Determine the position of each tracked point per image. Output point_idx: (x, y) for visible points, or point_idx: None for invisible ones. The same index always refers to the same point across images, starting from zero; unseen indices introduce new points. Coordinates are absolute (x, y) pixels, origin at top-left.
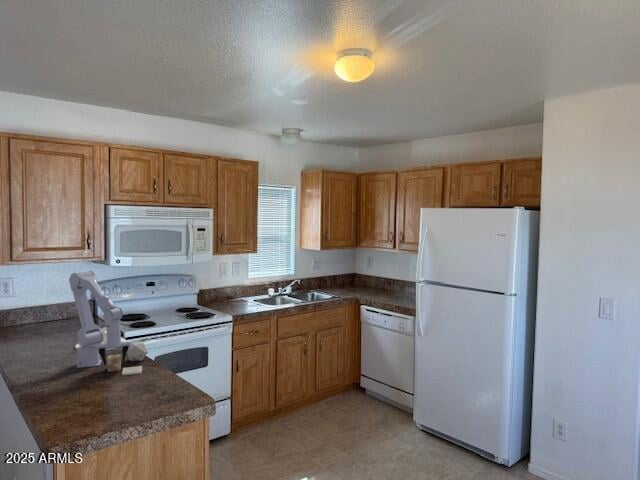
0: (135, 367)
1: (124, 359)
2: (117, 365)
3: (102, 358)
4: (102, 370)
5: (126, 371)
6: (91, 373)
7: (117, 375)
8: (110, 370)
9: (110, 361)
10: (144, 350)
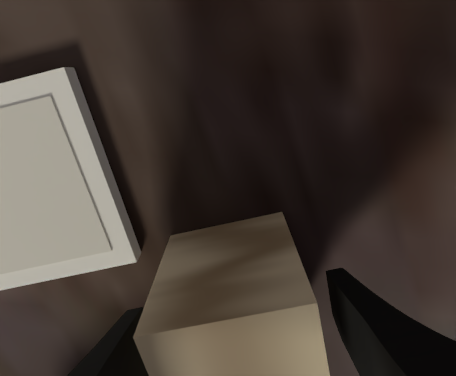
0: (8, 259)
1: (99, 342)
2: (183, 261)
3: (403, 315)
4: (345, 251)
5: (41, 139)
6: (438, 175)
7: (129, 80)
8: (256, 221)
9: (264, 279)
10: None
